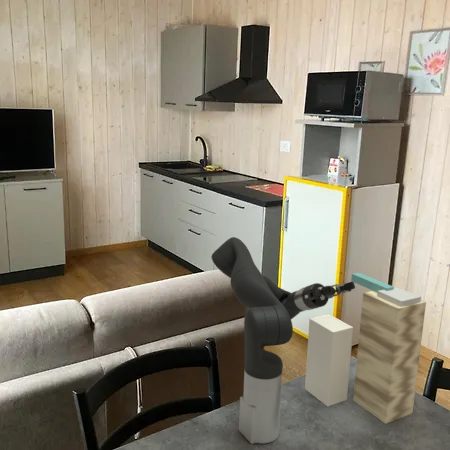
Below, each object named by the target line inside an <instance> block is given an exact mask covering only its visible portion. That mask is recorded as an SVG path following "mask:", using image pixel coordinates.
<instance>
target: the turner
mask: <svg viewBox="0 0 450 450" xmlns="http://www.w3.org/2000/svg"><path fill="white" fill-rule="evenodd" d="M350 282H354V284H357V285H359V286H362V287H363V288H366V289H368V290H371V291H375V292H377V297H380V298H382V299H384V300H386V301H389V302H391V303H393V304H395V305H398V306H400V307H403V306H407V305H412V304H416V303H420V302H421V300H422V296H419V295H417V294H415V293H412V292H410V291H408V290H405V289H403V288H400V287H399V286H398V287H397V286H393V285H390V284H389V283H385V282H383V281H380V280H378V279H375V278H373V277H370V276H368V275H366V274H363V273H361V272H356V273H355V272H353V273H351V280H350Z"/></svg>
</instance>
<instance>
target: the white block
mask: <svg viewBox="0 0 450 450" xmlns="http://www.w3.org/2000/svg"><path fill="white" fill-rule="evenodd" d="M308 320H309V321H308V334H307V335H308V336H307V348H306V349H307V352H306V366H305V378H304V379H305V382H304V389H305V390H306V391H307V392H309V393H310V394H311V395H312V396H313V397H315V398H316V399H317V400H318V401H320V402H321V403H322V404H323V405H325V406H326V407H330V406H333V405H337V404H339V403H342V402H344V401H347V400H348V391H349V381H350V380H349V378H350V368H351V357H352V345H353V334H354V326H352V325H349V323H346V322H344V321H343V320H340V319H339V318H337V317H335V316H333V315H332V314H323V315H318V316H315V317H311V318H308Z"/></svg>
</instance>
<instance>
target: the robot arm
mask: <svg viewBox="0 0 450 450" xmlns="http://www.w3.org/2000/svg"><path fill="white" fill-rule="evenodd" d="M210 257H211V261H212V263H213V264H214V265H215V267H216V268H217V269H218V270H219V271H220V272H222V274H224V275H225V276H226V277H228V278H229V279H230V286H231V289H232V291H233V293H234V296H235V298H236V299H237V300H238V302H239V304H242V305H243V306H244V307H246V308H247V310H246V311H245V313H244V321H243V327H244V329H243V331H244V332H243V333H244V367H243V368H244V371H243V373H244V374H243V375H244V376H243V378H244V379H243V393H242V394H243V396H240V397H239V414H238V415H239V418H238V431H239V432H240V433H241V434H242V436H243V437H244V438H245V439H246V440H247V441H248V442H249V443H250V444H251V445H254V444H269V443H273V442H274V441H276V440H277V439H278V437H279V436H280V435H279V434H280V423H281V422H280V420H281V402H282V399H281V398H282V383H283V367H284V366H283V365H284V364H283V360H282V358H281V357H280V356H279V355H278V354H276V353H274V352H273V351H269V350H265V349H263V348H261V347H273V346H280V345H284V344H285V345H286V344H287V343H289V342H290V341H291V340H292V337H293V333H294V328H293V322H292V320H293V319H294V318H295V317H297V316H298V315H299V314H300V313H302V312H306V311H312V310H315V309H319V308H322V307H324V306H326V305H327V304H328V302H329V299H333V298H335V297H337V296H341V295H342V294H345V293H350V292H351V291H353V290H355V289H356V286H355V283H354V282H352V281H349V282H346V283H343V284H342V283H341V284H338V283H335V284H332V285H323V284H321V283H318V282H315V283H312V284H310V285H307V286H304V287H302V288H299V289H298V290H295V291H292V292H291V291H287V290H285V289H283V288H282V287H279V286H278V285H277V284H275V282H273V281H272V280H271V279H270V278H269V277H267V276H265V275H263V274H262V273H261V271H260V270H259V268H258V267H257V265H256V264H255V262H254V259H253V257H252V255H251V253H250V250H249V248H248V247H247V246H246V244H245V243H244V242H243V241H242V240H241V239H239V238H238V237H236V236H232V237H230V238H228V239H227V240H226V241H224V242H223V243H222V244H221V245H220V246H218V247H217V249H215V251H214V252H213V253H212V254H211V256H210Z"/></svg>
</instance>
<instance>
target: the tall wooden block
mask: <svg viewBox="0 0 450 450" xmlns="http://www.w3.org/2000/svg"><path fill="white" fill-rule="evenodd" d="M426 306H427V302H426V301H424V300H422V299H421V302H420V303H416V304H412V305H407V306H403V307H400V306H398V305H395V304H393V303H391V302H389V301H386V300H384V299H382V298H380V297H377V292H375V291H373V290H371V291H366V292H363V293H362V302H361V313H360V323H359V336H358V345H357V356H356V368H355V379H354V380H355V381H354V389H353V401H354V402H355V403H356V404H357V405H359V406H360V407H362V408H363V409H364V410H366V411H368V412H369V413H370V414H372V415H373V416H374V417H376V418H377V419H379V420H380V421H381V422H382V423H384V424H385V425H387V424H389V423H392V422H394V421H397V420H399V419H402V418H404V417H406V416H409V415H412V414H413V412H414V403H415V396H416V390H417V389H416V387H417V380H418V372H419V363H420V354H421V348H422V347H421V346H422V340H423V339H422V338H423V330H424V323H425V314H426Z"/></svg>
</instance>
